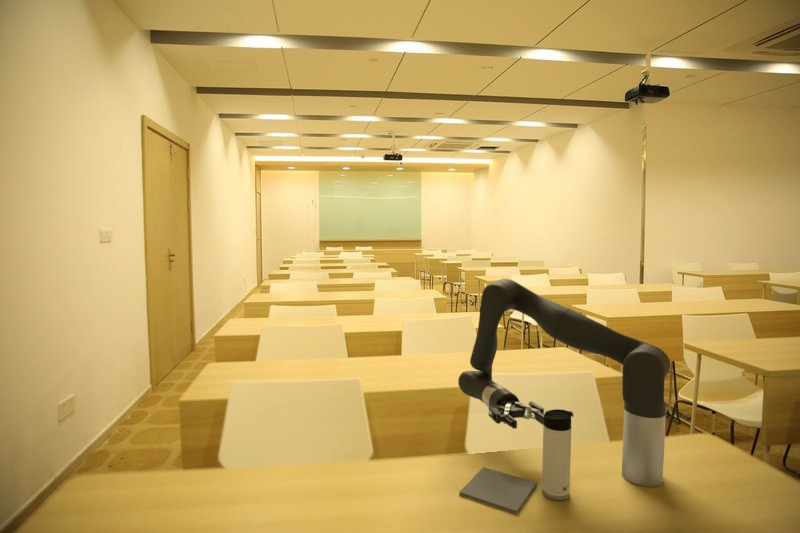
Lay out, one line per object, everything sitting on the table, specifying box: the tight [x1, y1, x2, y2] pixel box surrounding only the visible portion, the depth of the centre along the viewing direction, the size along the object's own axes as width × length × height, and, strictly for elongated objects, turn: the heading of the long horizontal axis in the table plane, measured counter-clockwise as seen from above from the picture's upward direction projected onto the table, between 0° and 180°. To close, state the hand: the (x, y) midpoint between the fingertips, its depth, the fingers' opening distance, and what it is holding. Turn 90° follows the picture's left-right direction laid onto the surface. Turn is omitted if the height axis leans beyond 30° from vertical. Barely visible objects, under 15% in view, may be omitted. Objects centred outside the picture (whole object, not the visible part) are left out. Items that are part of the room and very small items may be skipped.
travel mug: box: [541, 408, 574, 502], centre depth 114 cm, size 6×7×20 cm
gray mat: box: [458, 466, 538, 515], centre depth 116 cm, size 14×14×1 cm
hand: (530, 423), depth 124 cm, fingers open, 8 cm apart
